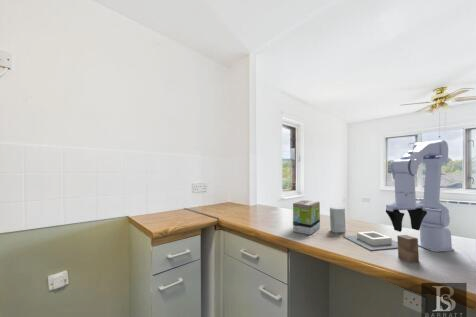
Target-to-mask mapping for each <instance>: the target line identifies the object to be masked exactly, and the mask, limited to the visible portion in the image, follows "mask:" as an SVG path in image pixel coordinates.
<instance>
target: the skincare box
mask: <svg viewBox="0 0 476 317" xmlns="http://www.w3.org/2000/svg"><path fill="white" fill-rule="evenodd" d="M329 220H330V221H329V222H330V224H329V225H330V231H331V232H333V233H335V234H336V233H337V234H338V233H346V231H347V230H346V209H345V208H344V207H337V206H336V207H329Z"/></svg>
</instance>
